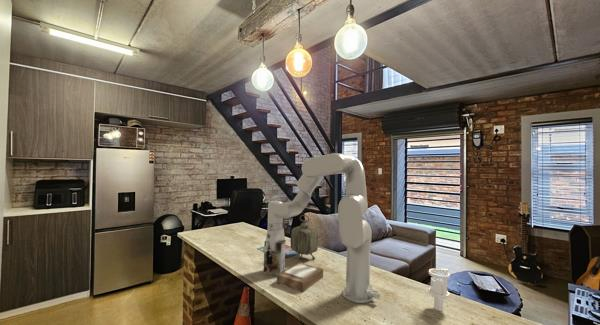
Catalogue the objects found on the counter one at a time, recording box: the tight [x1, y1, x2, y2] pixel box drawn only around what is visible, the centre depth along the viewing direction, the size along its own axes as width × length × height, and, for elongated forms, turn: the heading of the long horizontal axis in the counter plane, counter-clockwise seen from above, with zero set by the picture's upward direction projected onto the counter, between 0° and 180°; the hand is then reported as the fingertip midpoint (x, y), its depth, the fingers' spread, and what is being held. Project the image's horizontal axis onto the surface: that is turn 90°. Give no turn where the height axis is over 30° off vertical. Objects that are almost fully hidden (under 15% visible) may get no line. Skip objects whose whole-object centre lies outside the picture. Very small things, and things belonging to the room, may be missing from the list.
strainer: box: [428, 268, 451, 312], centre depth 98 cm, size 7×7×15 cm
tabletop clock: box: [289, 214, 319, 260], centre depth 148 cm, size 14×9×25 cm, turn 50°
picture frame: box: [276, 262, 324, 293], centre depth 120 cm, size 14×18×5 cm
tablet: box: [256, 244, 299, 260], centre depth 161 cm, size 19×25×1 cm
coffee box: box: [263, 239, 287, 277], centre depth 128 cm, size 9×6×16 cm
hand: (274, 261), depth 128 cm, fingers closed on coffee box, 7 cm apart
